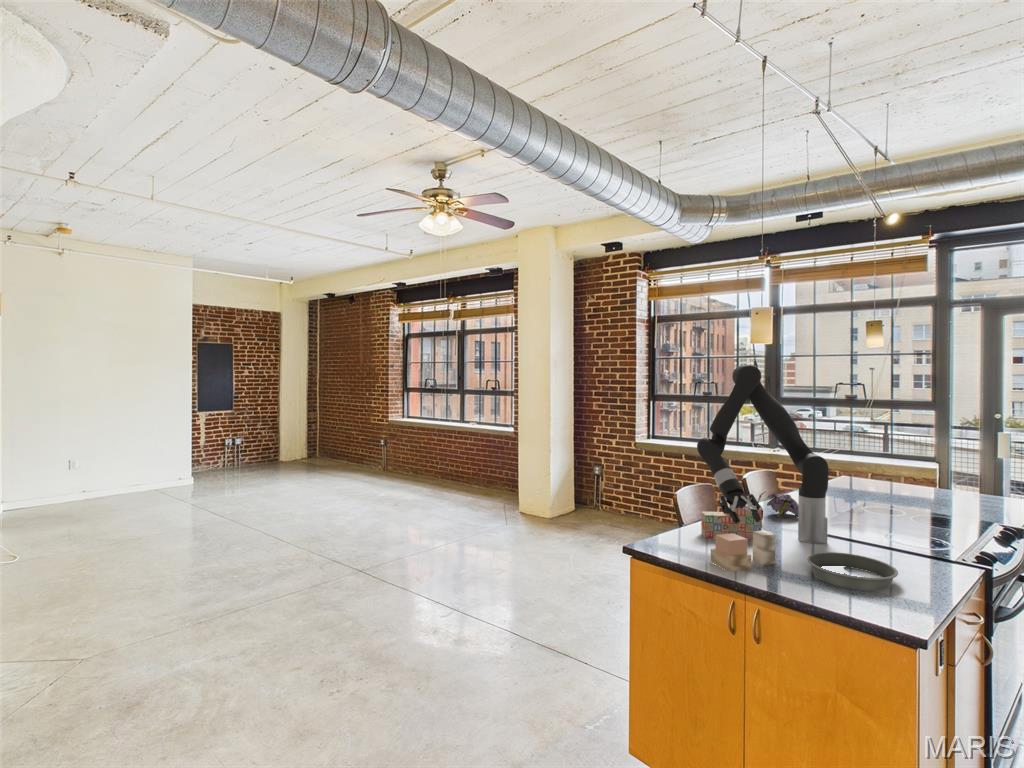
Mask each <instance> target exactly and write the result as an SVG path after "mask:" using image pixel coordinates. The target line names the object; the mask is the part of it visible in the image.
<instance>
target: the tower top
mask: <svg viewBox="0 0 1024 768" xmlns="http://www.w3.org/2000/svg"><path fill="white" fill-rule="evenodd" d="M715 548H716V550H717V551H720V552H722V553H724V554H726V555H728V556H735V555H744V554H747V553H748V540H747V539H746V538H744V537H741V536H739V535H736V534H734V533H730V534H720V535H716V539H715Z"/></svg>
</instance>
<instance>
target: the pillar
mask: <svg viewBox="0 0 1024 768" xmlns="http://www.w3.org/2000/svg"><path fill="white" fill-rule="evenodd" d="M752 561H753V562H756V563H757V564H759V565H762V566H767V565H775V564H776V533H773V532H771V531H768V530H765V529H764V530H763V529H762V531H753V540H752Z"/></svg>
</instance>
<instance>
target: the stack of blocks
mask: <svg viewBox="0 0 1024 768" xmlns="http://www.w3.org/2000/svg"><path fill="white" fill-rule="evenodd" d="M727 505H728V507H729V506H730V504H727ZM746 506H748V504H746ZM750 508H751V507H750ZM751 509H752V508H751ZM734 512H736V513H737V515H738V517H739V519H740V522H739V523H738V524H736V523H735V522H734V521H733V520H732V518H731V516H730V515H729V514H728V513H726V514H724V513H723V511H701V520H700V522H701V524H700V525H701V529H700V530H701V533H700V534H701V536H703V537H704V538H705V539H714V538H715V540H716V535H720V534H730V533H734V534H736V535H739V536H741V537H744V538H746V539H747V541H750V540H751V541H753V531H763V529H762V527H763V519H762V509H761V508H760V509H759V510H758V513H759V515H760V517H761V520H760V521H759V522H756V521H755V519H754V518H753V516H752V513H751V512H750V511H748V510H745V509H744V508H738V509H736V508H735V511H734Z"/></svg>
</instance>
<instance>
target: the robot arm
mask: <svg viewBox="0 0 1024 768" xmlns="http://www.w3.org/2000/svg"><path fill="white" fill-rule="evenodd" d="M731 375H732V381H733V383H734V386H733V388H732V391H731V393H730V394H729V396H728V398H727V399H726V400H725V402H724V403H723V404H722V406H721V407H720V409H719V410H718V411H717V413H716V415H715V417H714V419H713V421H712V423H711V425H710V427H709V431H710V432H711V433H712V436H711V438H709V437H702V438H700V439H699V440H698V442H697V444H696V449H697V452H698V454H699V456H700V458H701V459H702V461H704V463H705V464H706V465H707V466H708V468H709V470H710V472H711V474H712V476H713V478H714V481H715V483H716V485H717V487H718V489H719V490H720V493H721V496H720V497H719V498H718V499H717V501H718V503H719V505H720V506H719V507H721V511H722V512H723V513H724V514H726V513H728V514H729V515H730V516H731V518H732V520H733V521H734V522H735V523H736V524H738V523H739V522H740V519H739V517H738V515H737V513H736V512H734V511H735V508H736V509H738V508H744V509H745V510H748V511H750V512H751V513H752V516H753V518H754V519H755V521H756V522H759V521H760V520H761V517H760V515H759V513H758V510H759V509H760V508H761V507H762V506H761V507H760V505H761V504H759V503H758V500H757V499H756V496H754V494H752V493H750V494H749V495H746V494H745V493H744V488H743V487H742V484H741V482H740V481H739V479H738V477H737V475H736V474H735V472H734V471H733V470H732V468H731V466H730V463H729V462H728V461H727V459H726V458H725V457H724V456H722V455H723V453H724V451H725V447H726V443H727V439H728V434H729V433H730V430H731V428H732V427H733V425H734V423H735V421H736V419H737V417H738V415H739V413H741V412H740V411H741V410H742V408H743V406H744V405H745V403H746V401H747V399H748V400H749V401H750V402H751V404H752V405H753V407H754V409H755V411H756V412H757V414H758V415H759V417H760V419H761V420H762V422H763V423H764V424H765V426H766V427H767V428H768V430H769V431H770V432H771V434H772V436H774V438H776V440H777V441H778V442H779V444H780V445H781V446H782V447H783V448H784V449H785V450H786V453H787V454H788V455H789V457H790V459H791V460H792V462H793V464H794V466H795V468H796V470H797V471H798V473H800V474H801V476H802V477H801V478H802V479H801V485H800V486H799V488H798V503H797V504H798V517H797V519H798V523H797V525H798V526H797V527H798V528H797V532H798V533H797V535H798V536H797V537H798V538H797V539H798V540H799V541H801V542H803V543H809V544H816V545H817V544H818V543H820V544H828V527H829V525H828V524H829V523H828V521H829V520H828V517H827V516H826V514H827V513H826V507H827V505H826V501H827V495H826V494H827V492H828V488H829V474H830V473H829V471H830V470H829V465H828V464H829V463H828V462H827V460H826V459H825V458H824V457H822V456H820V455H818V454H816V453H815V452H813V450H811V449H810V447H808V445H807V444H806V442H805V441H804V440H803V438H802V437H801V434H800V431H799V428H798V426H797V424H796V422H795V420H794V419H793V417H792V416H791V415H790V413H789V412H788V411H787V410H786V408H785V407H784V405H782V404H781V403H780V402H779V400H777V399H776V398H775V397H774V396H773V395H772V394H770V393H769V391H767V389H765V387H764V385H763V384H762V382H761V380H762V372H761V370H760V369H759V368H758V367H757V366H756V365H753V364H742V365H739V366H737V367H735V368H734V370H733V372H732V374H731ZM728 505H730V506H729V507H728ZM746 505H748V506H746ZM755 505H756V506H755ZM750 507H751V508H752V509H751V508H750ZM818 545H819V544H818Z"/></svg>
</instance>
